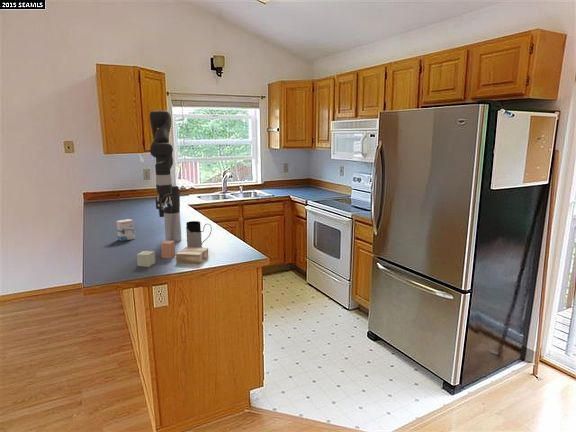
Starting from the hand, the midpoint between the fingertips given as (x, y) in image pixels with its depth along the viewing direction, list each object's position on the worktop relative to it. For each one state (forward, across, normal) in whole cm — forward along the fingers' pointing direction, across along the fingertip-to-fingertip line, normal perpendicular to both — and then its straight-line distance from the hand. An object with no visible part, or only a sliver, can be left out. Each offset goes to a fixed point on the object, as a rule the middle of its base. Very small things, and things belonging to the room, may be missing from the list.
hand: (165, 215), depth 193 cm
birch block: (+22, +2, +14) cm, 27 cm away
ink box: (+22, -27, -41) cm, 54 cm away
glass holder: (+22, -17, +10) cm, 30 cm away
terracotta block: (+22, 0, 0) cm, 22 cm away
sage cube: (+22, +13, -5) cm, 26 cm away
